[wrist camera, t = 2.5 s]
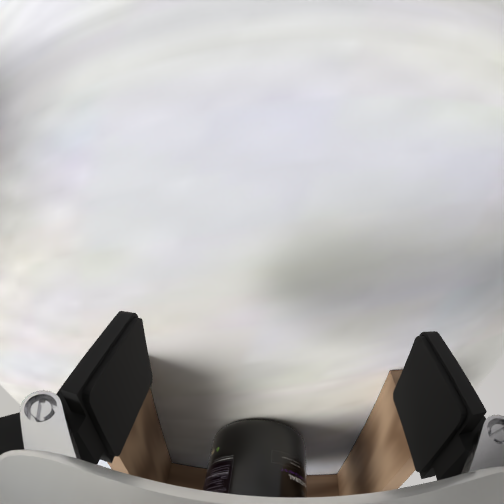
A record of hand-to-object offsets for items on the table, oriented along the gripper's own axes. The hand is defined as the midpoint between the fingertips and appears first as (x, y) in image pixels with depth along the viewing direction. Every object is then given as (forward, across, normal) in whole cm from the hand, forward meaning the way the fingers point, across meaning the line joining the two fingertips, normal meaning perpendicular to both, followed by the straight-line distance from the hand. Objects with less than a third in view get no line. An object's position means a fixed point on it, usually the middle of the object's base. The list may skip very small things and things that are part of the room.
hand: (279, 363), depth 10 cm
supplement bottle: (+6, 0, +13) cm, 15 cm away
